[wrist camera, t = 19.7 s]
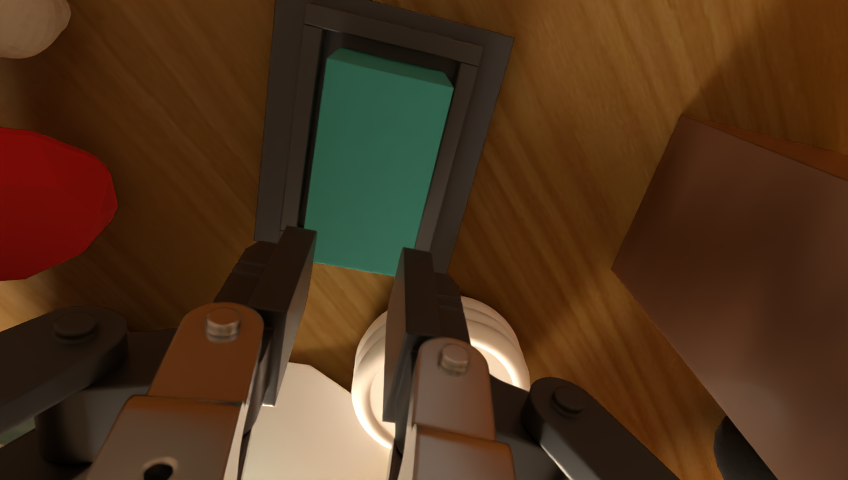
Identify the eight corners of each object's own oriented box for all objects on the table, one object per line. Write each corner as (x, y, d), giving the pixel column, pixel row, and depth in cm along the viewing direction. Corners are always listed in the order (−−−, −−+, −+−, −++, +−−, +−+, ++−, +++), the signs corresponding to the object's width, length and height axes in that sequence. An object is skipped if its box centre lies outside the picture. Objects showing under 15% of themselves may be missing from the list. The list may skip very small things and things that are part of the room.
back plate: (285, -22, 21) (271, -25, 18) (508, 35, 22) (520, 39, 20) (261, 229, 26) (247, 250, 23) (443, 262, 27) (447, 285, 25)
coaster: (481, 263, 27) (492, 297, 24) (540, 384, 31) (557, 427, 28) (325, 331, 29) (315, 372, 25) (401, 438, 33) (402, 484, 30)
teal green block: (340, 46, 21) (326, 57, 16) (443, 71, 21) (454, 87, 17) (315, 216, 24) (299, 260, 20) (405, 233, 25) (406, 279, 20)
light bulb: (955, 495, 29) (820, 528, 25) (842, 498, 35) (717, 526, 31) (891, 382, 32) (762, 396, 28) (797, 401, 38) (678, 416, 34)
